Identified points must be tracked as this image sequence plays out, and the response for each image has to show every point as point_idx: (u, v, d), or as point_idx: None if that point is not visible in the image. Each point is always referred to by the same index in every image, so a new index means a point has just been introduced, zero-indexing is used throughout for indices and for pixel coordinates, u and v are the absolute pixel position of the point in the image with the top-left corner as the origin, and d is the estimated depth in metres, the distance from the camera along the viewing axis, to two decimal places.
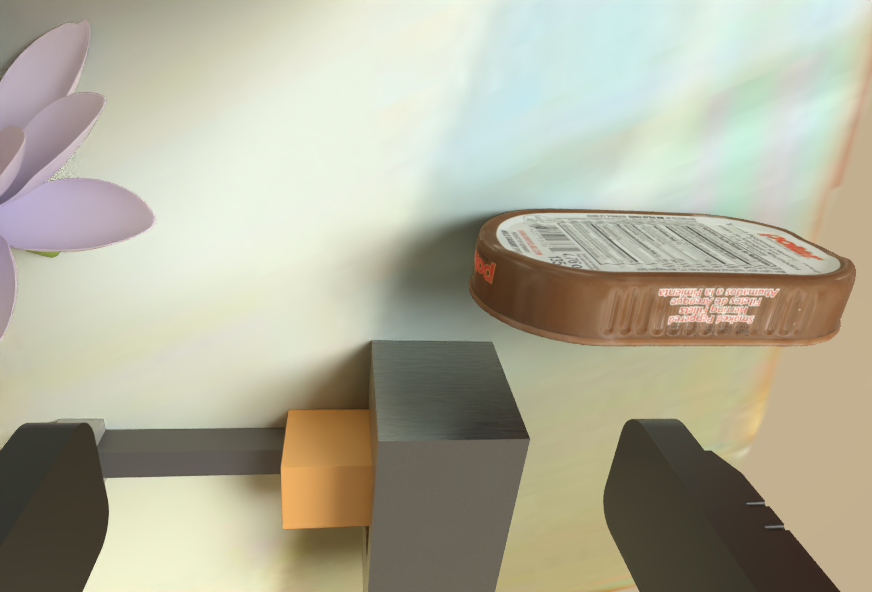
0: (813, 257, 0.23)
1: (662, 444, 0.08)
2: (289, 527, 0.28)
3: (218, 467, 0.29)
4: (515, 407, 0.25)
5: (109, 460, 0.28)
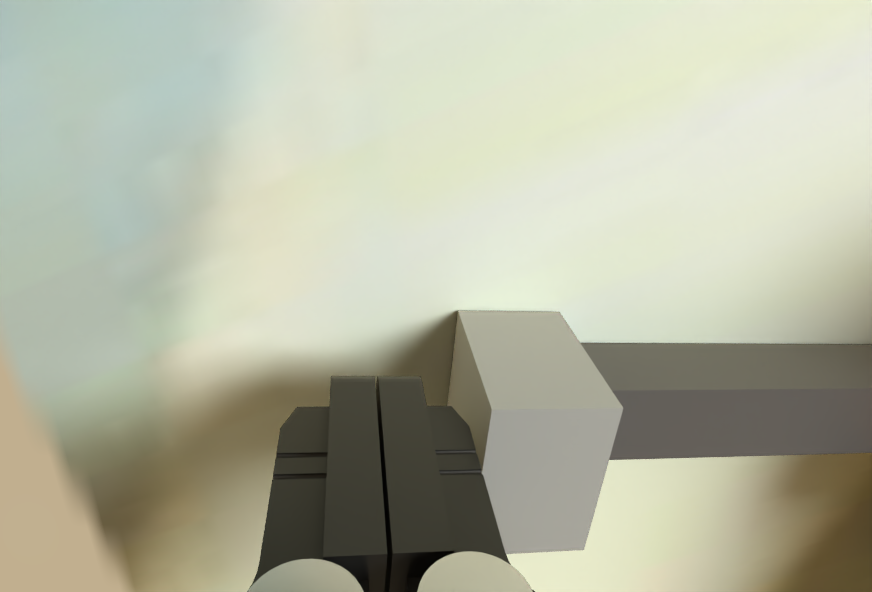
0: None
1: (387, 397, 0.09)
2: None
3: (837, 433, 0.12)
4: None
5: None
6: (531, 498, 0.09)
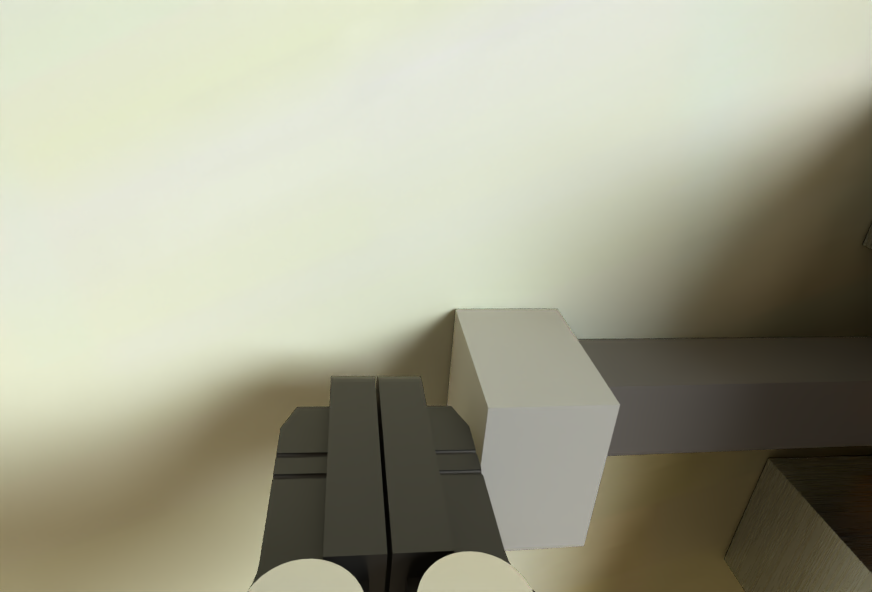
0: None
1: (387, 397, 0.09)
2: None
3: (838, 426, 0.11)
4: None
5: None
6: (530, 495, 0.09)
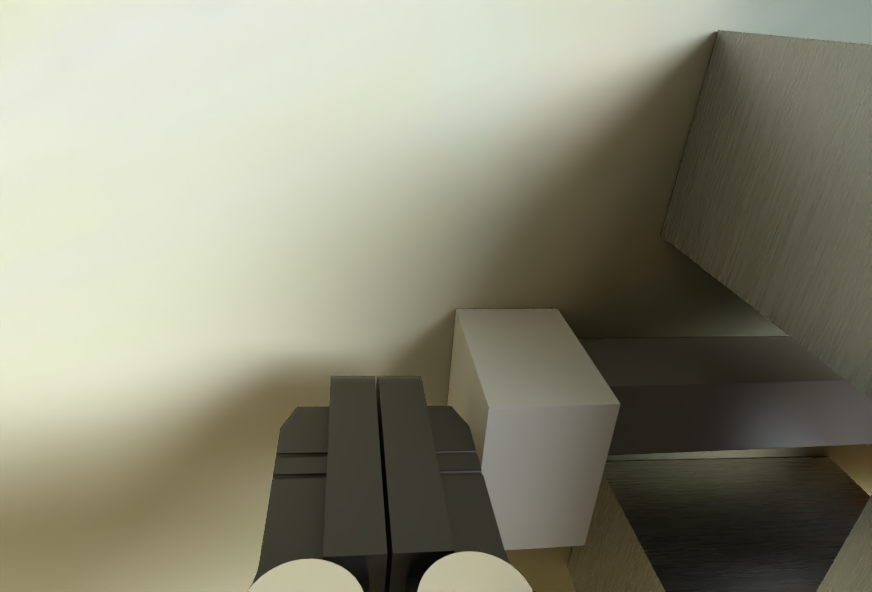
0: None
1: (387, 397, 0.09)
2: None
3: (839, 424, 0.12)
4: None
5: None
6: (530, 494, 0.09)
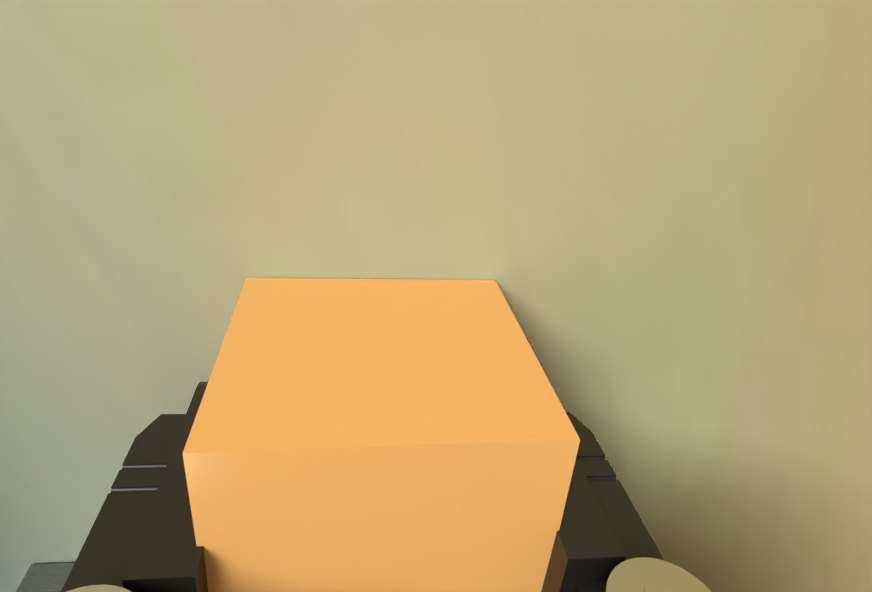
0: None
1: None
2: None
3: None
4: None
5: None
6: None
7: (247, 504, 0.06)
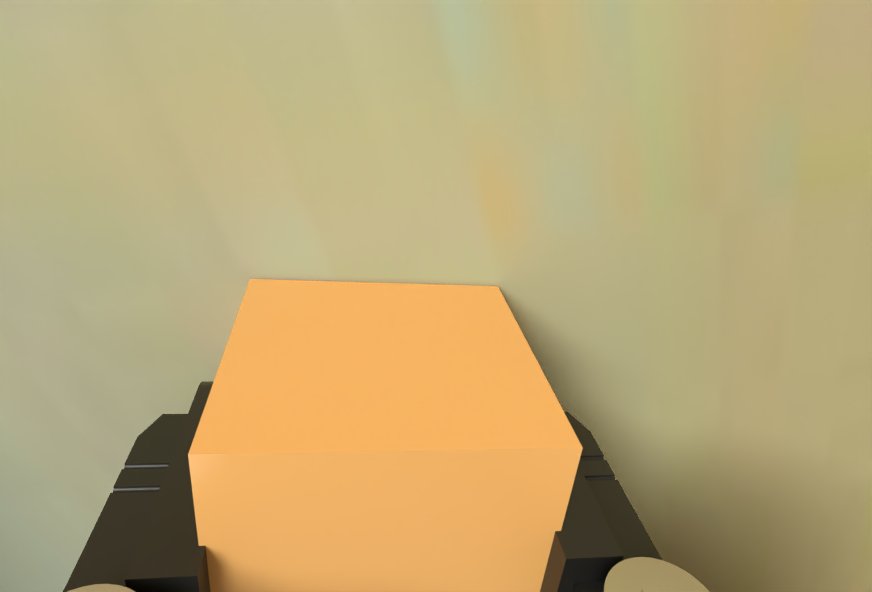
0: None
1: None
2: None
3: None
4: None
5: None
6: None
7: (249, 506, 0.06)
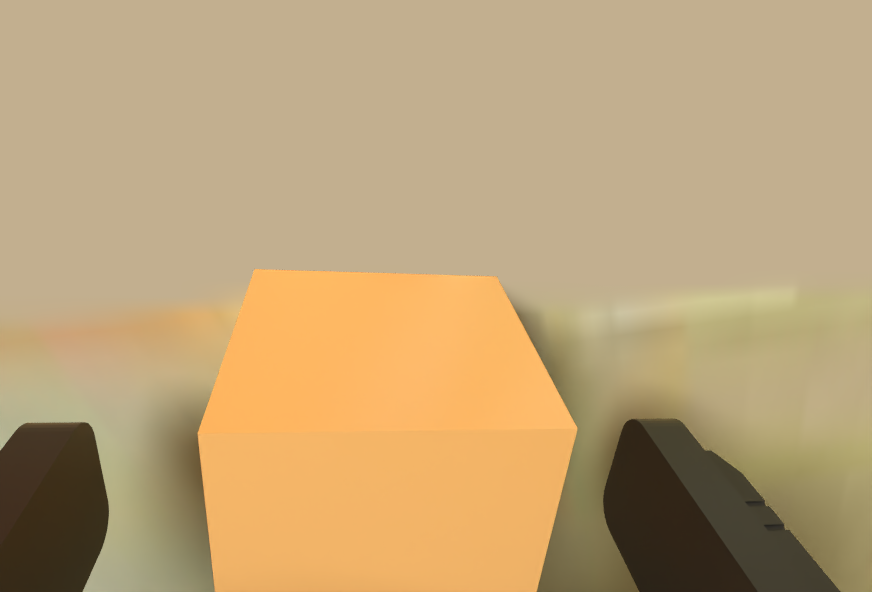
0: None
1: (662, 444, 0.08)
2: None
3: None
4: None
5: None
6: None
7: (256, 484, 0.06)
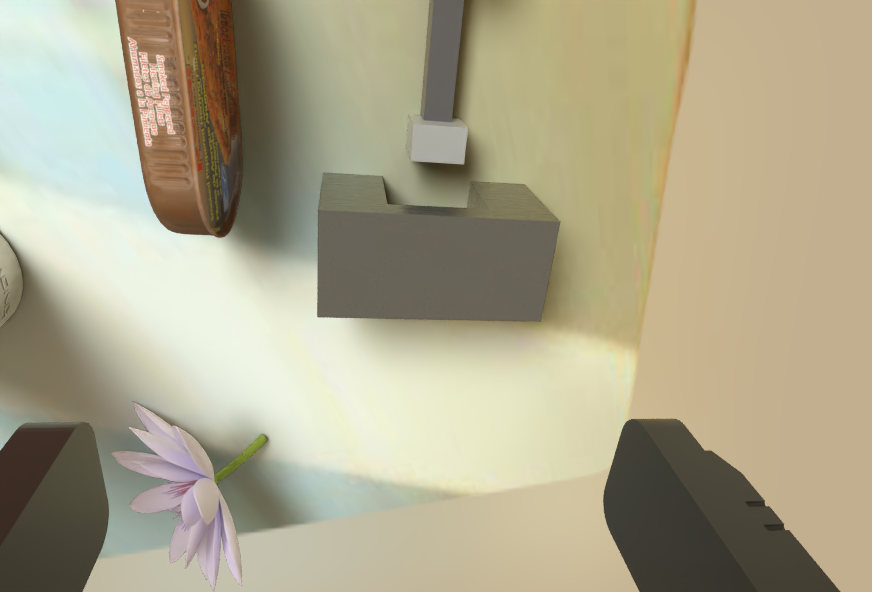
0: None
1: (662, 444, 0.08)
2: None
3: (453, 12, 0.31)
4: (319, 200, 0.30)
5: (433, 109, 0.33)
6: (443, 147, 0.32)
7: None
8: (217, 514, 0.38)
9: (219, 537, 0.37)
